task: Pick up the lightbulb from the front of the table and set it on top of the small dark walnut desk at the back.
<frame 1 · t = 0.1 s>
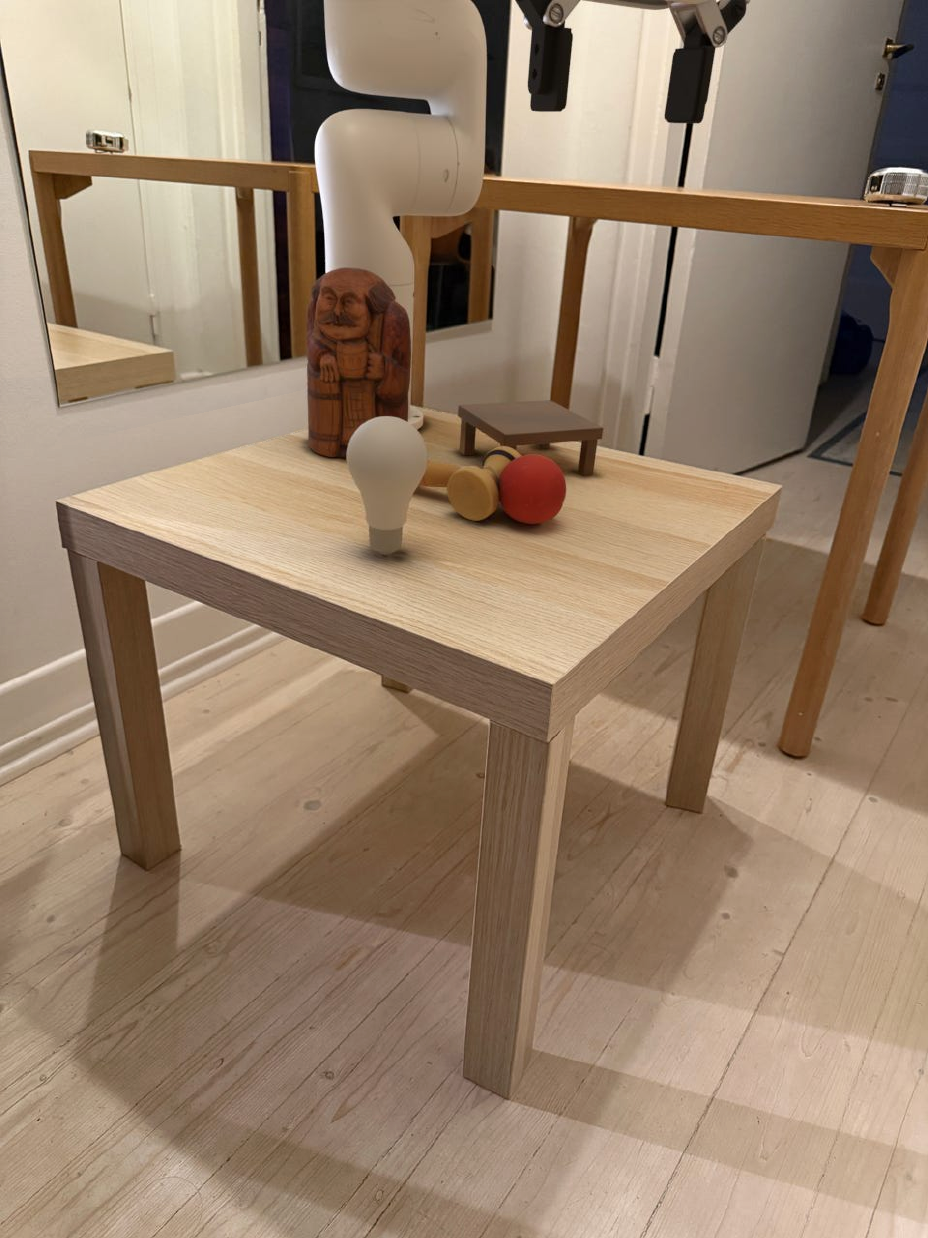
hand: (617, 116, 55), 31 cm above the table, tool pointing down, fingers open, 9 cm apart
desk: (524, 463, 95), on the table
lightbulb: (385, 556, 72), on the table
wooden figurine: (354, 453, 95), on the table
kendama: (469, 508, 83), on the table
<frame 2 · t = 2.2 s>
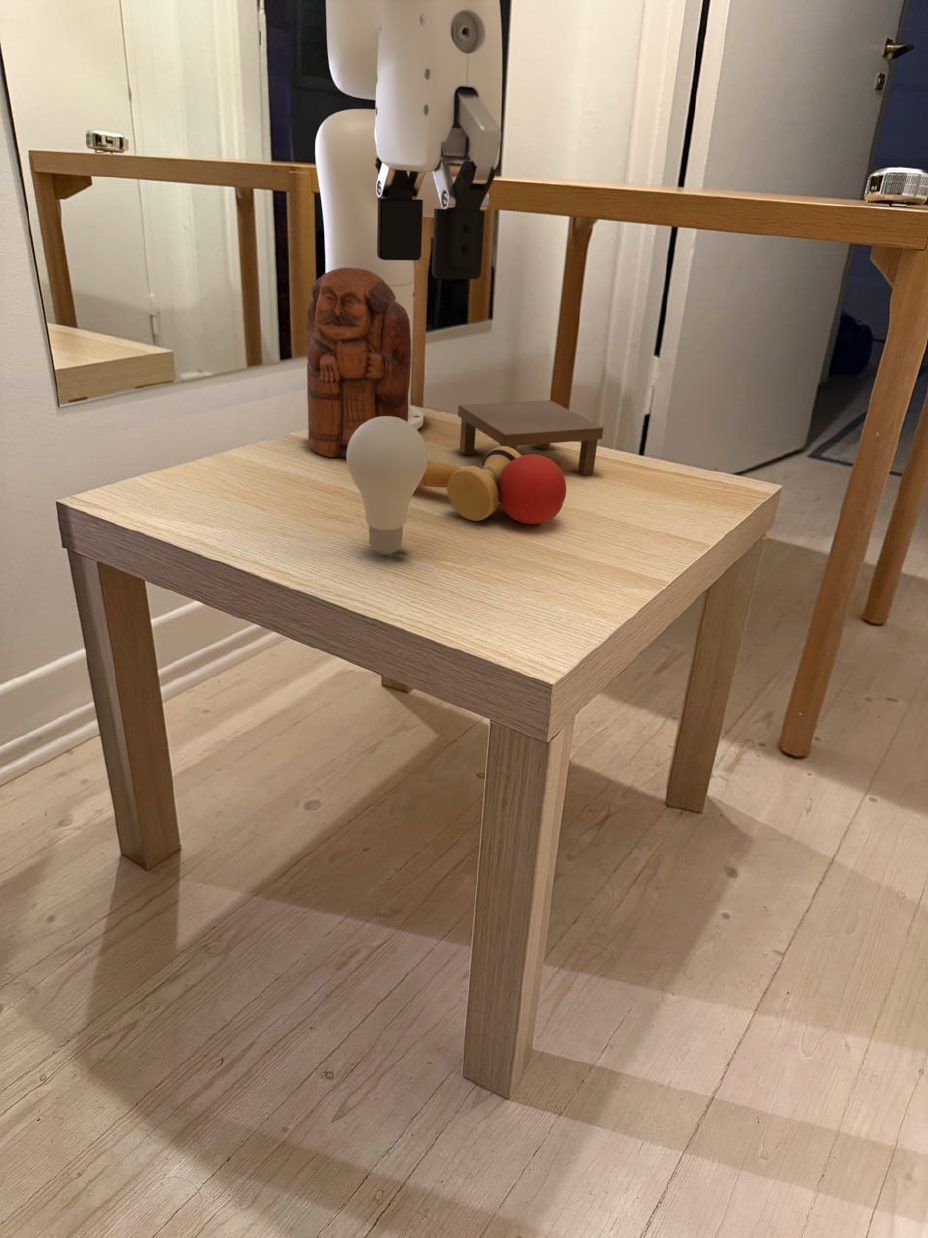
hand: (425, 268, 61), 22 cm above the table, tool pointing down, fingers open, 9 cm apart
nothing on the table moved.
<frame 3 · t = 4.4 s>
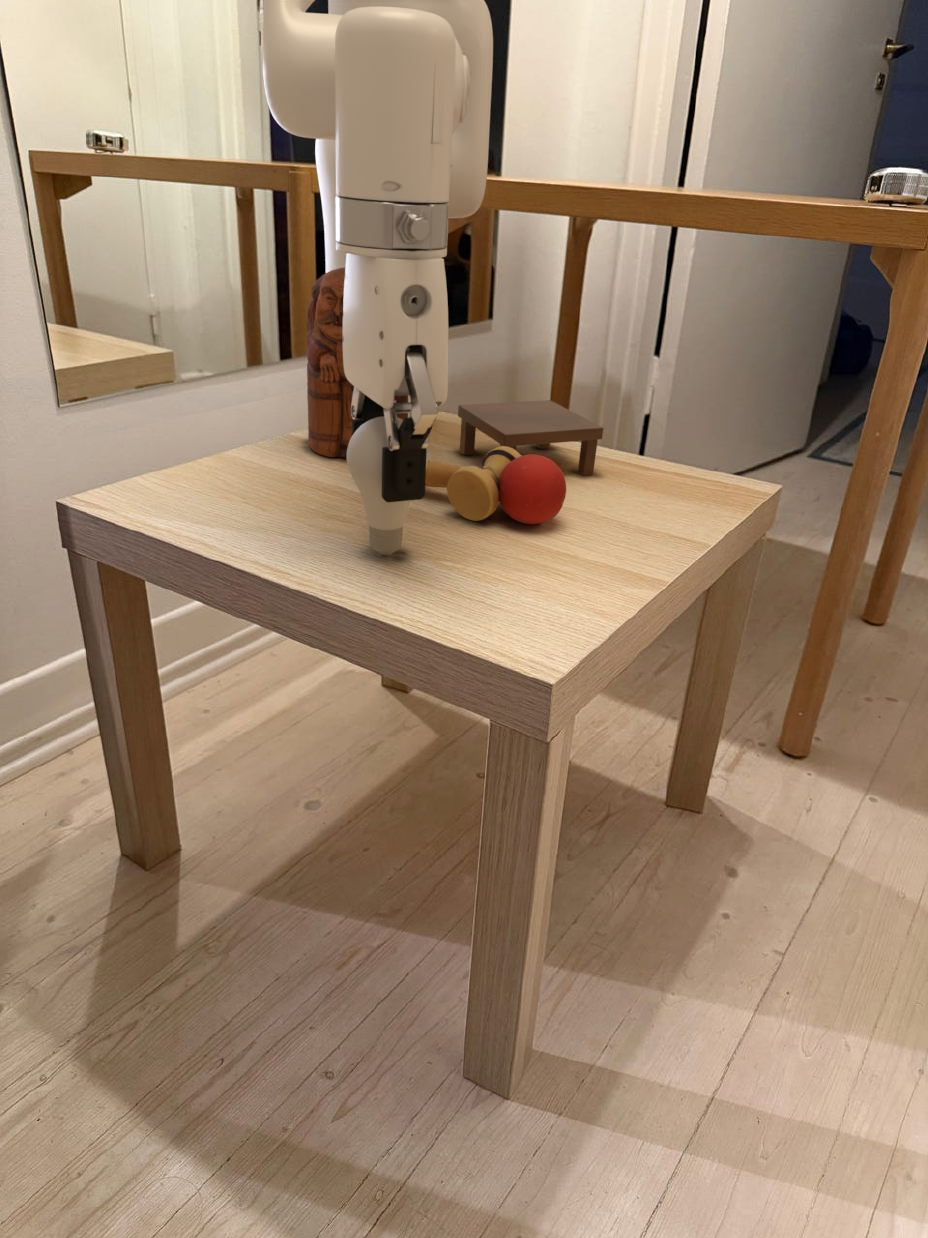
hand: (386, 481, 69), 6 cm above the table, tool pointing down, fingers closed on lightbulb, 6 cm apart
lightbulb: (385, 556, 72), on the table, touching gripper
everything else where it was.
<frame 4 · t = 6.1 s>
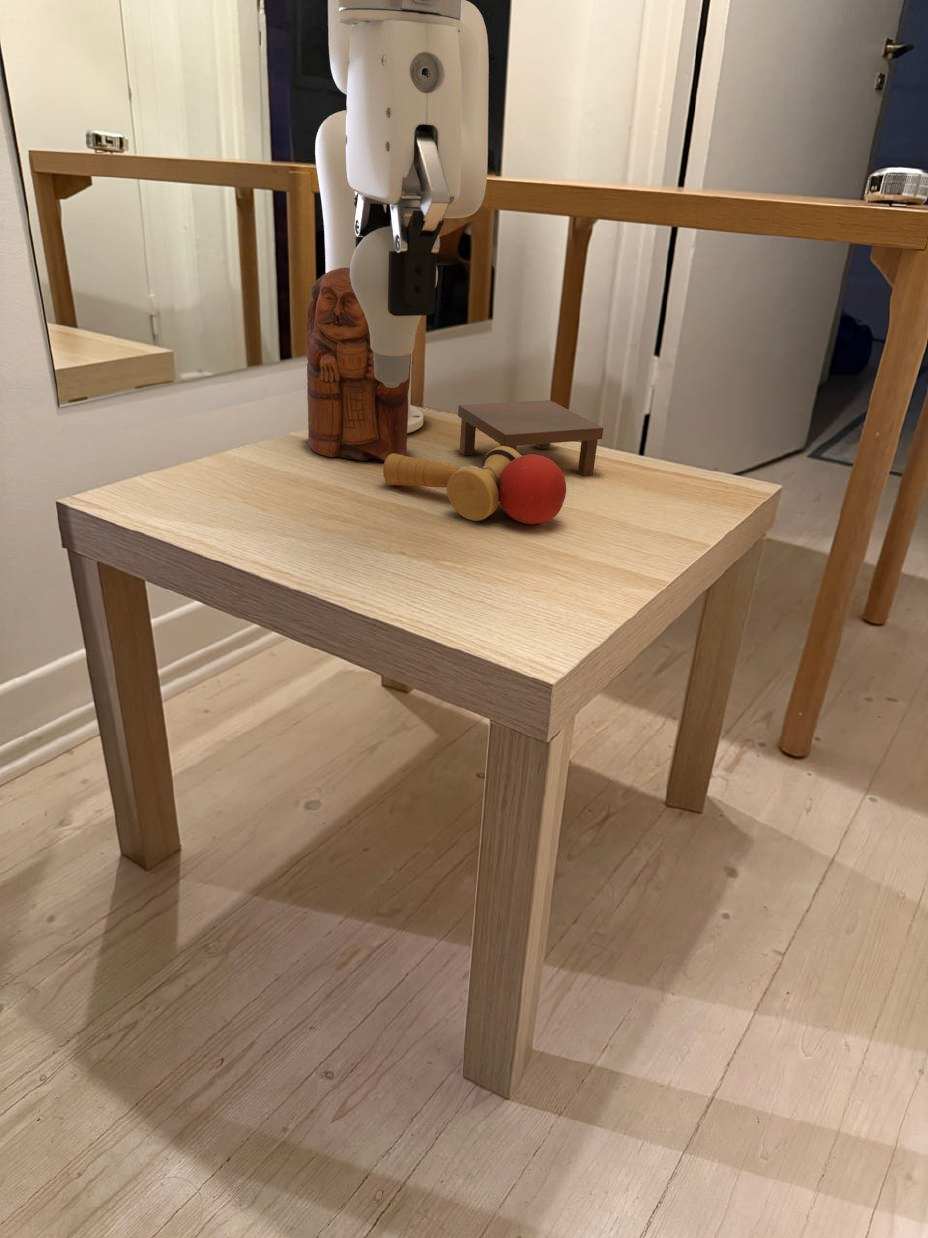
hand: (393, 302, 64), 19 cm above the table, tool pointing down, fingers closed on lightbulb, 6 cm apart
lightbulb: (391, 389, 67), point 13 cm above the table, touching gripper
everything else where it was.
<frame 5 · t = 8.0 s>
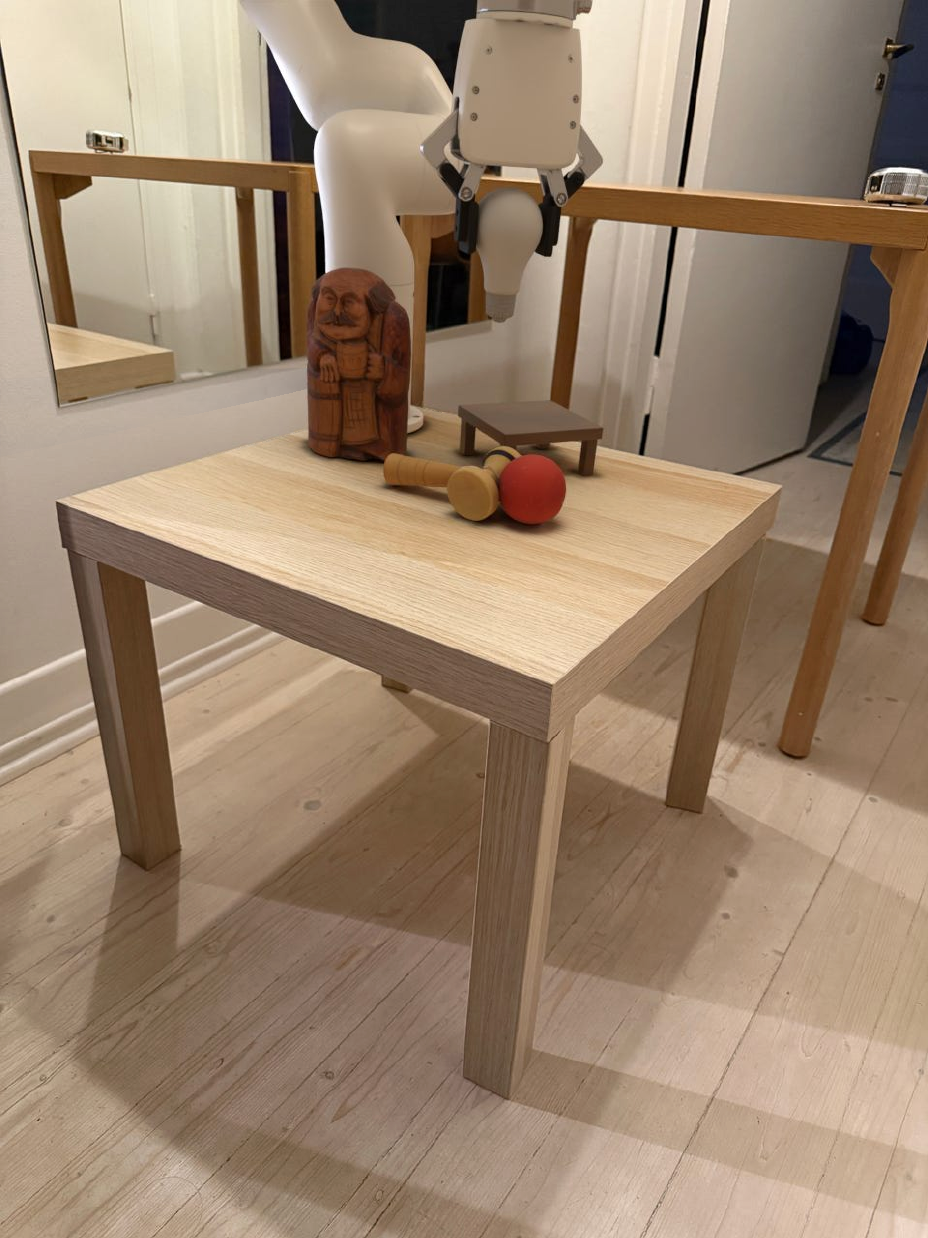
hand: (505, 250, 78), 21 cm above the table, tool pointing down, fingers closed on lightbulb, 6 cm apart
lightbulb: (498, 324, 81), point 15 cm above the table, touching gripper
everything else where it was.
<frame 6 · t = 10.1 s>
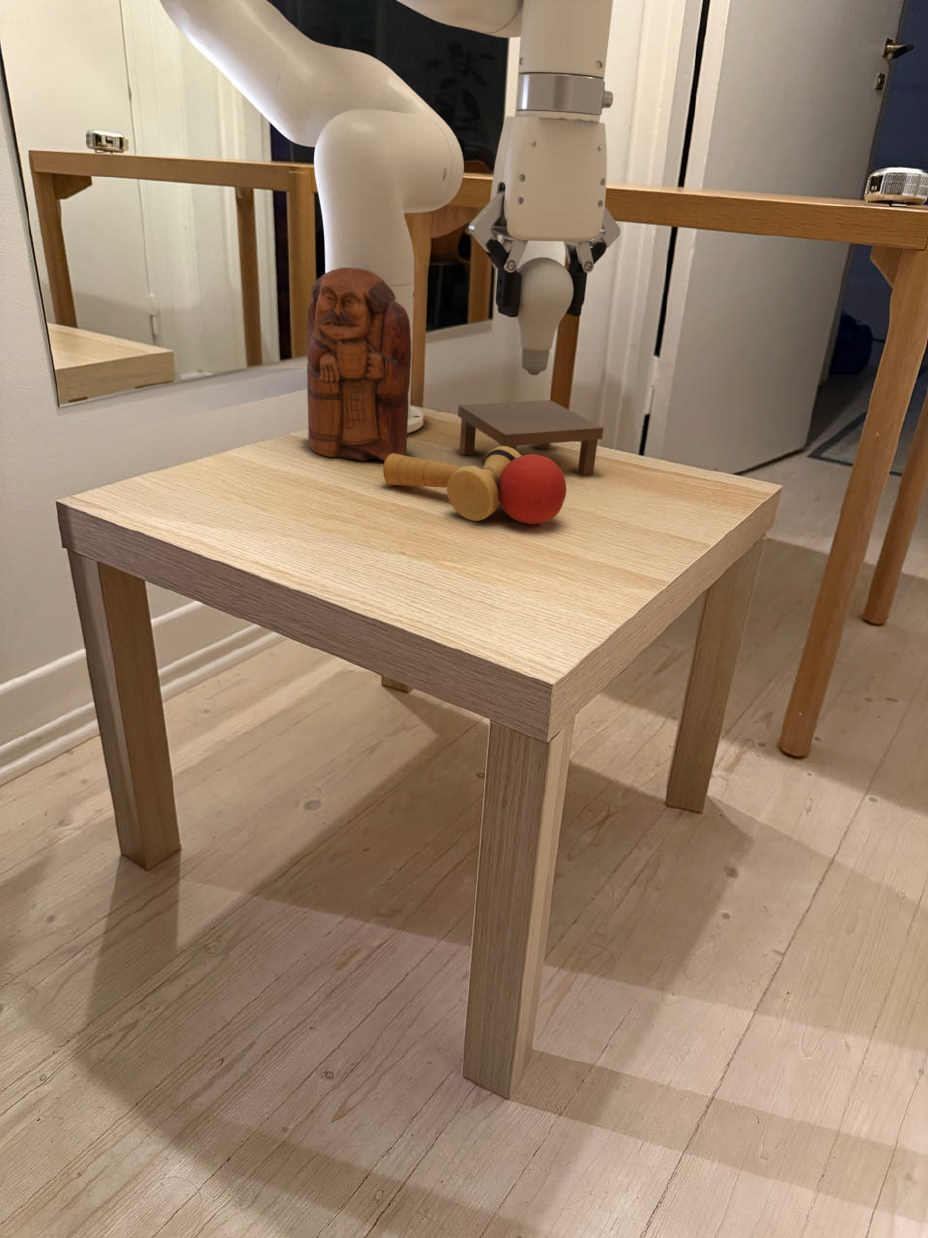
hand: (539, 312, 88), 15 cm above the table, tool pointing down, fingers closed on lightbulb, 6 cm apart
lightbulb: (533, 376, 91), point 9 cm above the table, touching gripper
everything else where it was.
when the fingers open (11 cm above the table, at t = 11.6 s): lightbulb stays where it is, resting on desk.
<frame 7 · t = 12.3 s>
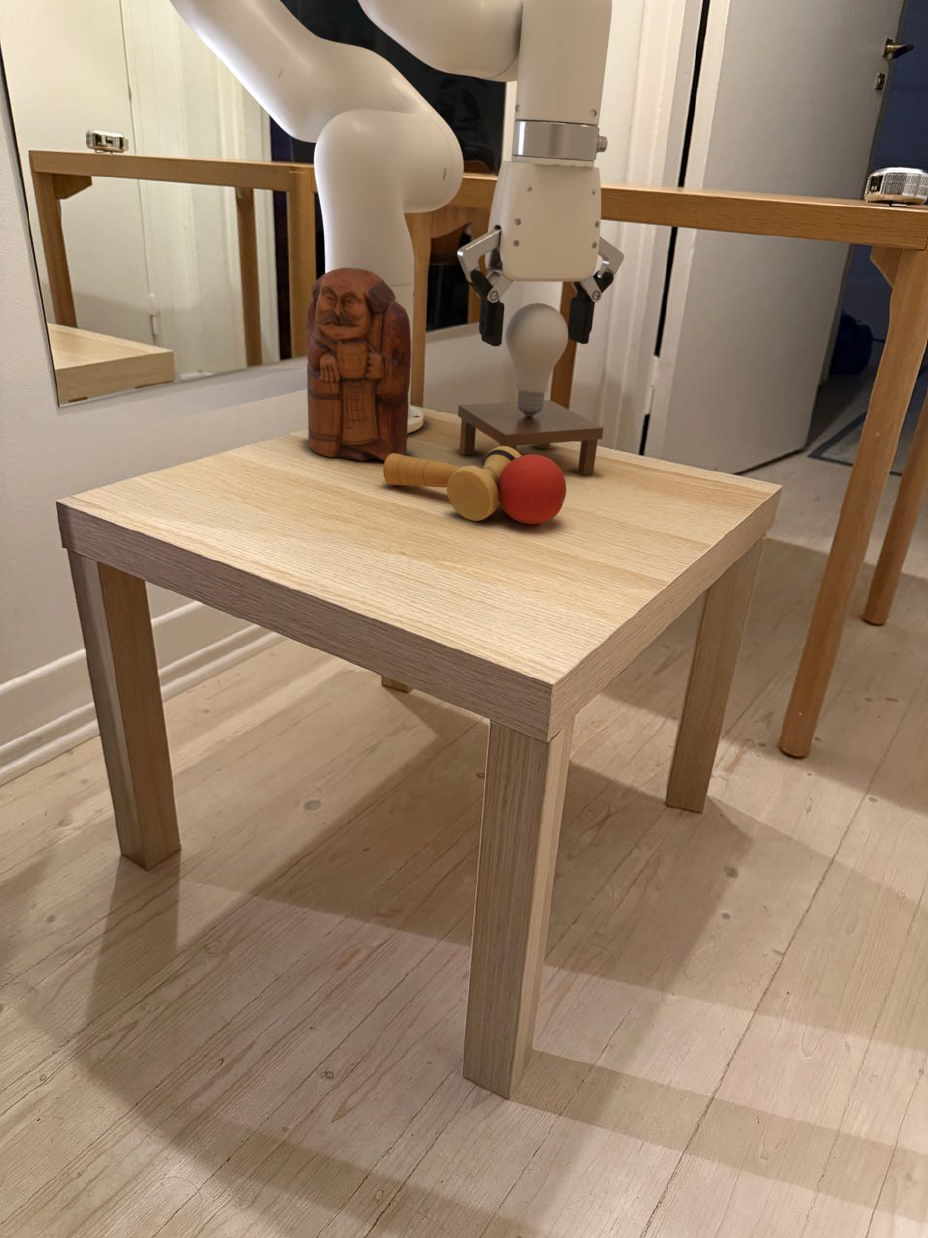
hand: (535, 342, 89), 12 cm above the table, tool pointing down, fingers open, 9 cm apart
lightbulb: (529, 417, 93), point 5 cm above the table, touching desk
everything else where it was.
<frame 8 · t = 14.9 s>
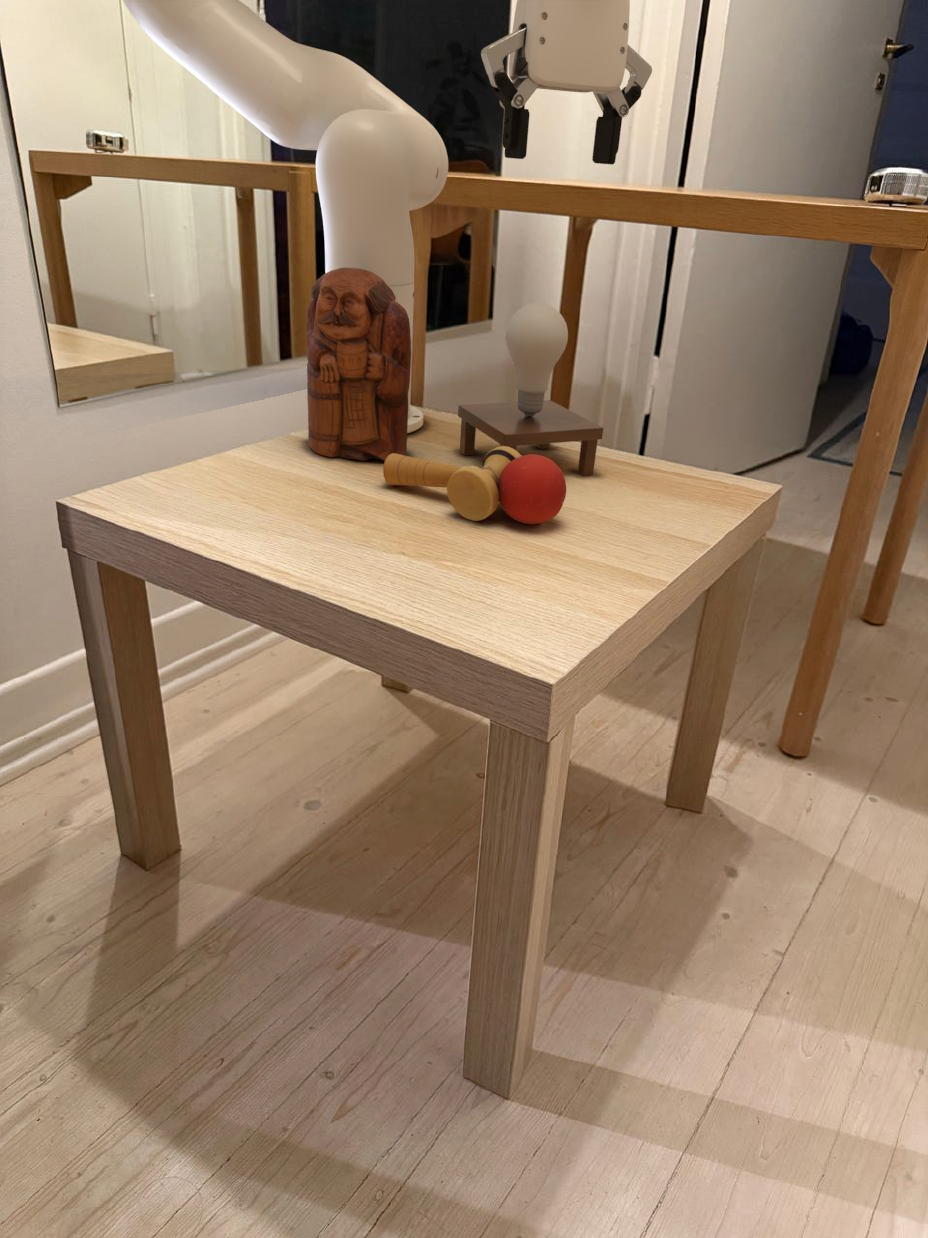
hand: (560, 160, 86), 28 cm above the table, tool pointing down, fingers open, 9 cm apart
nothing on the table moved.
at the end: lightbulb inside the target area on the desk (0.0 cm from its centre), point 4.8 cm above the desk's base; the gripper is holding nothing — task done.
